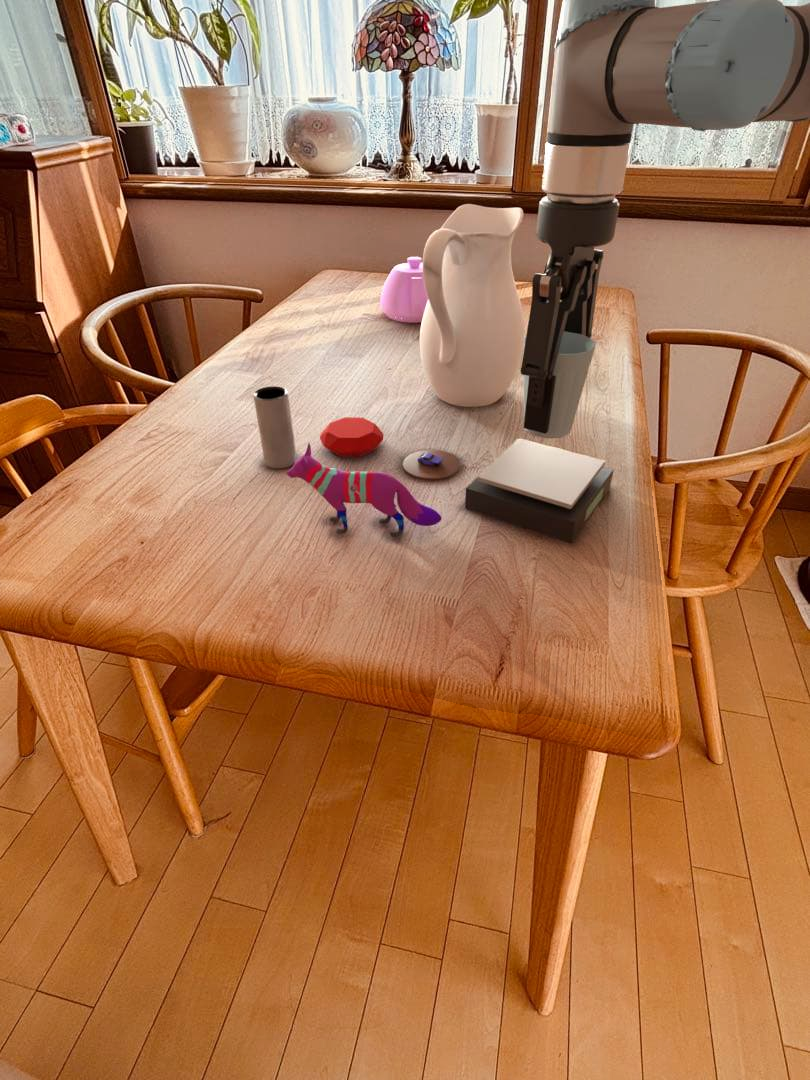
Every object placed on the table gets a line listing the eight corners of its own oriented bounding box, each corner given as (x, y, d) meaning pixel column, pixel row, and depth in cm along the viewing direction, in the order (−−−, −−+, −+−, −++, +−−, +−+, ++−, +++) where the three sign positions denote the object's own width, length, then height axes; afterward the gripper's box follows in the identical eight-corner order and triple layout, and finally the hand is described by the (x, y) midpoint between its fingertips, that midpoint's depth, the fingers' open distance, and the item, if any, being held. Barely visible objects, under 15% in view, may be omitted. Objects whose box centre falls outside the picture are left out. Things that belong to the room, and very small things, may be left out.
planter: (294, 451, 91) (285, 384, 85) (298, 466, 87) (289, 397, 81) (263, 455, 90) (252, 388, 84) (266, 471, 86) (254, 401, 80)
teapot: (453, 328, 135) (455, 269, 127) (381, 330, 134) (379, 271, 127) (443, 299, 152) (444, 245, 145) (379, 301, 152) (377, 247, 144)
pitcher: (449, 368, 116) (454, 200, 99) (534, 386, 109) (555, 208, 92) (378, 417, 100) (370, 225, 83) (472, 442, 92) (484, 237, 76)
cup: (532, 447, 70) (544, 357, 64) (503, 419, 76) (512, 334, 70) (592, 438, 72) (609, 349, 66) (559, 411, 78) (572, 327, 72)
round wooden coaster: (446, 485, 83) (446, 475, 82) (392, 472, 86) (392, 463, 85) (468, 459, 88) (469, 449, 87) (418, 447, 91) (418, 438, 90)
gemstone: (390, 454, 90) (390, 435, 88) (330, 465, 87) (328, 446, 86) (372, 428, 97) (371, 410, 95) (316, 437, 94) (314, 419, 93)
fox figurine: (297, 516, 77) (286, 441, 71) (442, 522, 76) (444, 447, 70) (289, 533, 74) (278, 457, 68) (440, 540, 73) (442, 463, 67)
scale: (610, 489, 82) (617, 459, 79) (572, 543, 72) (577, 512, 70) (511, 461, 88) (514, 433, 85) (464, 508, 78) (466, 478, 76)
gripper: (579, 180, 68) (551, 380, 82) (498, 208, 54) (481, 443, 68) (649, 185, 65) (608, 393, 78) (580, 216, 51) (546, 461, 65)
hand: (549, 416), depth 73 cm, fingers closed on cup, 7 cm apart
